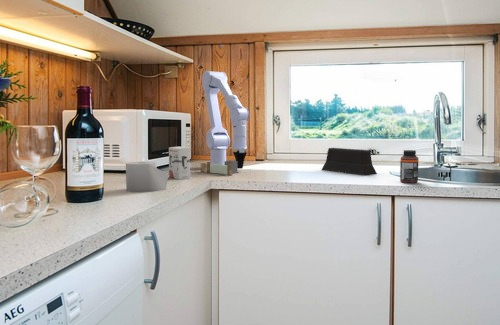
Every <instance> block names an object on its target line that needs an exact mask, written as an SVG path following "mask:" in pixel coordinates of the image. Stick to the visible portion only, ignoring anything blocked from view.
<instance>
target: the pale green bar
mask: <svg viewBox="0 0 500 325" xmlns="http://www.w3.org/2000/svg"><path fill="white" fill-rule="evenodd" d="M210 172H211V173H213V174H222V175H227V165H218V164H210Z"/></svg>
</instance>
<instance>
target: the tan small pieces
mask: <svg viewBox="0 0 500 325" xmlns="http://www.w3.org/2000/svg"><path fill="white" fill-rule="evenodd" d="M210 164H211V161H207V162H200V165H199V167H200V173H207V174H210V173H212V172H210ZM226 176H228V177H230V176H233V174H232V164H227V174H226Z"/></svg>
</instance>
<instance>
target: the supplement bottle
mask: <svg viewBox="0 0 500 325" xmlns="http://www.w3.org/2000/svg"><path fill="white" fill-rule="evenodd" d="M416 152H417V150H415V149H404V150H403V154H402V156H401V157H400V171H399V180H400V182H401V183H404V184H416V183H418V181H419V157H418V156H417V155H416Z"/></svg>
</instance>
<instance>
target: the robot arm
mask: <svg viewBox="0 0 500 325" xmlns="http://www.w3.org/2000/svg"><path fill="white" fill-rule="evenodd" d="M201 81H202V88H203V92H204V95H205V101H206V102H205V103H206V107H207V108H206V109H207V113H208V119H209V126H210V129H209V130H207V132H206V140H205V141H206V146H207V147H208V149H210V154H209V156H210V157H209V158H210V162H211V164H218V165H225V161H227V150H228V147H229V149H231V150H235V151H233V152H232V154H233V155H234V156H233V157H234V159H235V161H237V170H239V169H240V170H241V169H243V167H244V163H245V159H246V156H247V154H248V152H247V151H245V150H248V145H247V122H248V121H249V119H250V112H249V108H247V107H244V106H243V105H242V103H241V102H240V100H239V98H238V96H237V95H235V94H233V92H232V90H231V88H230V86H229V83H228V76H227V74H226V72H224V71H213V70H211V71H209V70H205V71H204V72H203V74H202V77H201ZM220 92H221V94H222V95H223V97H224V98H225V100H224V104H225V105H226V107H227V109H228V110H229V112H230V114H229V117H230V121H231V126H232V146H230V144H231V137H230V136H229V134H228V130H226V128H224V127H223V124H222V118H221V112H220V105H219V100H218V93H220Z"/></svg>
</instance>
